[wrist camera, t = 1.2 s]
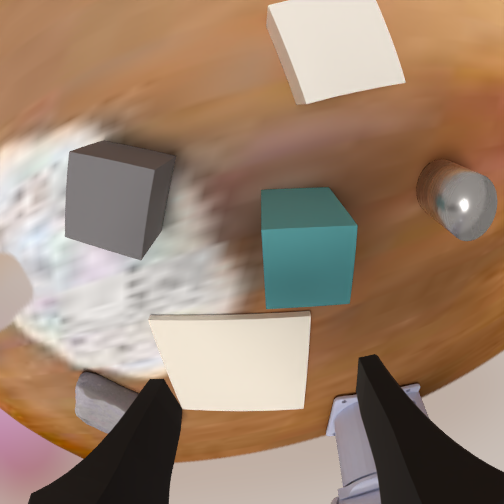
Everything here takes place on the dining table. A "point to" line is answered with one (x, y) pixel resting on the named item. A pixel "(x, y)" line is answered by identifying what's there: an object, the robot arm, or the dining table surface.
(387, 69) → the off-white block
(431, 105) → the dining table surface
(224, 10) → the dining table surface
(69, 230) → the charcoal block
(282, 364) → the coaster
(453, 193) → the grey cylinder
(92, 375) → the stone block
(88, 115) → the dining table surface
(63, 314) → the dining table surface
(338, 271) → the teal block
